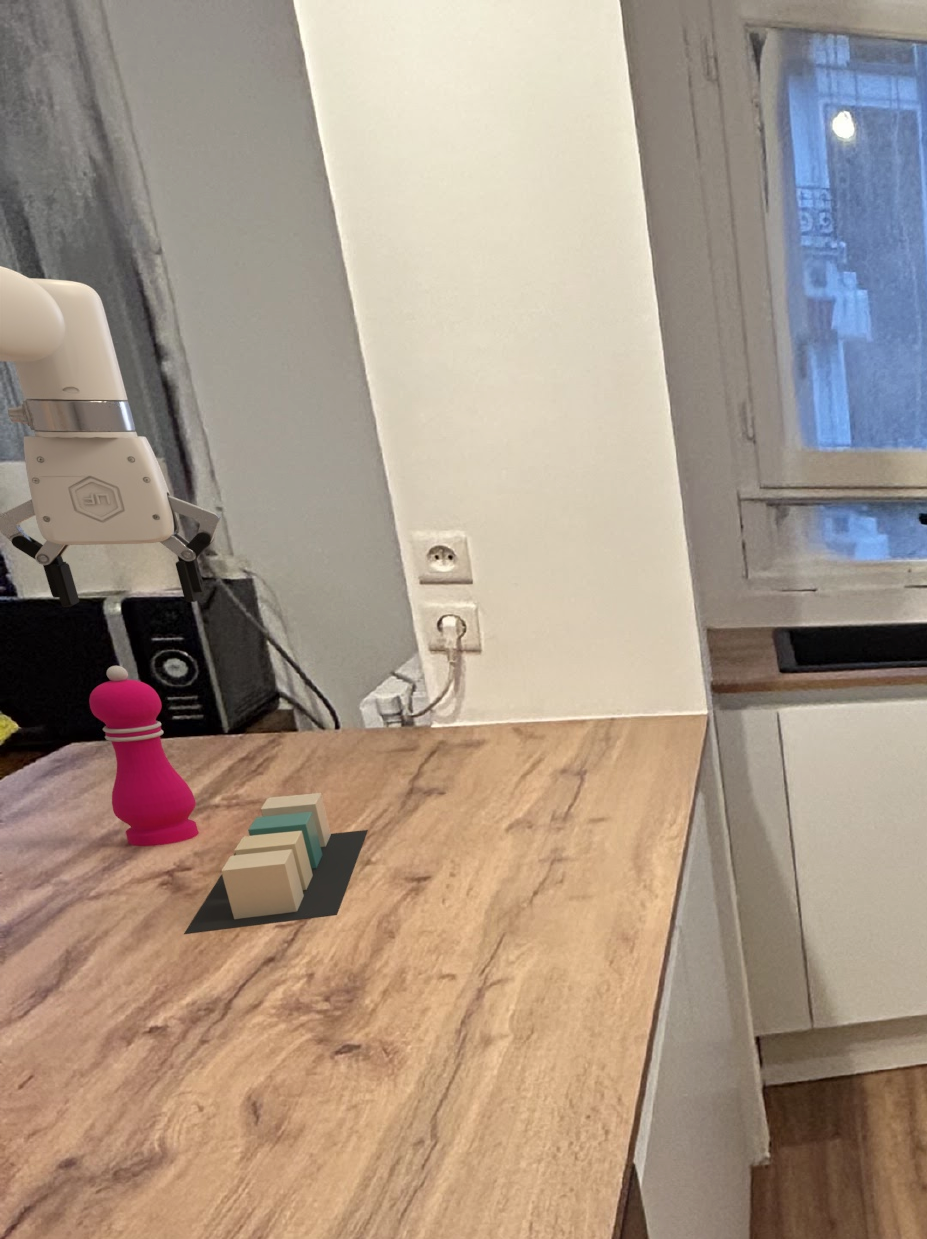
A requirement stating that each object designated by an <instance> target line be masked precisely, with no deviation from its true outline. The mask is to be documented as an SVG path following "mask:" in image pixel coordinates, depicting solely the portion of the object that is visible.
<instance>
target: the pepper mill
mask: <svg viewBox="0 0 927 1239" xmlns="http://www.w3.org/2000/svg"><path fill="white" fill-rule="evenodd" d="M106 676H107V678H108V679H109V681H106V682H102V683H101V684H99V685H97V686H96V687H94V689H93V690H92V691H91V693H90V694H89V701H88V704H89V709H90V711H91V714H93V716H94V717H95V718H97V719H98V720H99V721H101V722H103V723H104V724H105V725H104V727H103V728H102V731H103V732H104V735H105V736H104V738H105V740H106V741H110V742H111V744H112V747H113V750H114V754H115V760H116V774H115V779H114V783H113V787H112V791H111V806H112V812H113V814H114V816H115V817H116V818H117V819H118V820H120V821H122V822H123V823H125V824H127V825H128V826H130V827H129V828H127V829H126V831H125V835H126V839H127V842H128V845H131V846H135V847H154V846H155V847H156V846H163V845H171V844H175V843H180V842H185V841H187V840H190V839H193V838H195V837H196V836H197V837H198V835H199V830H198V826H197V822H196V821H195V820H193V819H189V817H190V815H191V814H192V812H193V811H194V810H195V808H196V805H197V803H196V798H195V795H194V793H193V791H192V790H191V788H190V787H189V785H188V783H187V782H186V781H185V780H184V779H183V778H182V776H181V775H180V774H179V773H178V772H177V771H176V769H175V768H174V767H173V766H172V764H171V763H170V761H169V759H168V757H167V756H166V753H165V751H164V748H163V745H162V740H161V739H162V738H161V736H162V735H163V734H164V730H163V729H162V723H161V721H160V720H159V721H158V720H157V718H158V716H159V714H160V713H161V710H162V706H163V704H162V701H161V698H160V696H159V694H158V692H157V691H156V689H154V688H153V687H152V686H151V685H150V684H147V683H145V682H143V681H140V680H136V679H130V678H129V673H128V670H127V669H126V668H124V667H123V666H121V665H112V666H110V667H108V668H107V670H106ZM128 678H129V679H128Z"/></svg>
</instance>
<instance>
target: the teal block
mask: <svg viewBox="0 0 927 1239" xmlns="http://www.w3.org/2000/svg"><path fill="white" fill-rule="evenodd" d="M247 831H248V834H249V835H248V836H253V835H263V834H273V833H283V832H292V831H302V833H303V837H304V842H305V846H306V850H307V854H308V858H309V862H310V866H311V869H315V868H317V866H318V864H319V862H320V859H321V857H322V851H321V847H320V843H319V839H318V834H317V830H316V826H315V822H314V818H313V814H312V812H306V813H295V814H285V815H275V816H264V817H262V816H257V817H255V818H254V820H253V821H252V823H251V825H250V826H249V828H248V829H247Z"/></svg>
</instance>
